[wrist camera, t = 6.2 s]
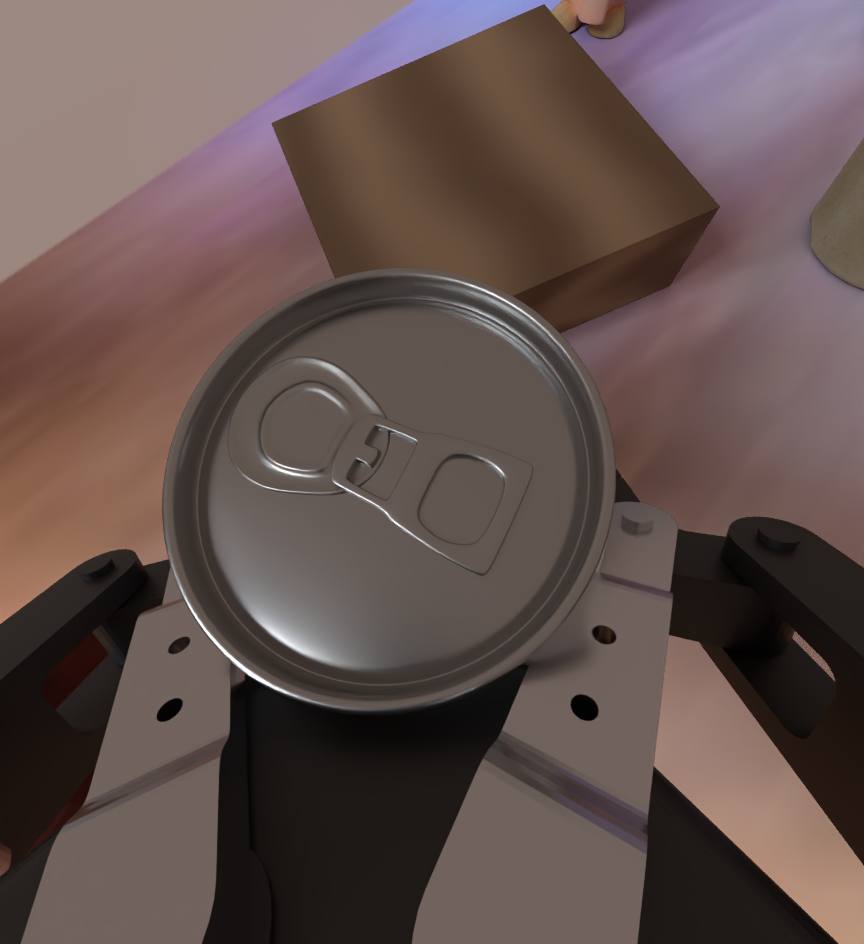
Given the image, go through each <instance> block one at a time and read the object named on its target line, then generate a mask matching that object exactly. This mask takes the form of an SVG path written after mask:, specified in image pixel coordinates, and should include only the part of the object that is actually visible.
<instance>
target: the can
mask: <svg viewBox="0 0 864 944" xmlns="http://www.w3.org/2000/svg"><path fill="white" fill-rule="evenodd" d="M615 491H616V462H615V451H614V444H613V438H612V433H611V428H610V424H609V420H608V417H607V413H606V410H605V407H604V404H603V402H602V399H601V397H600V394H599V392H598V389H597V387H596V385H595V383H594V381H593V379H592V377H591V376H590V374H589V372H588V370H587V369H586V367H585V365H584V364H583V362H582V361H581V359H580V358H579V356H578V355H577V353H576V352H575V351H574V349H573V348H572V347H571V346H570V344H569V343H568V342H567V341H566V340H565V338H564V337H563V336H562V335H561V334H560V333H559V332H558V331H557V330H556V329H555V328H554V327H553V326H552V325H551V324H550V323H549V322H548V321H547V320H545V319H544V318H543V317H542V316H541V315H539V314H538V313H537V312H536V311H534V310H533V309H532V308H530V307H529V306H527V305H526V304H524V303H523V302H521V301H520V300H518V299H517V298H515V297H513V296H511V295H510V294H508V293H506V292H504V291H502V290H500V289H498V288H496V287H493V286H491V285H489V284H486V283H484V282H481V281H478V280H475V279H472V278H469V277H466V276H462V275H458V274H454V273H449V272H444V271H438V270H430V269H419V268H390V269H378V270H371V271H365V272H359V273H354V274H350V275H346V276H342V277H339V278H335V279H332V280H329V281H326V282H323V283H321V284H318V285H316V286H313V287H311V288H309V289H306V290H304V291H302V292H300V293H298V294H296V295H294V296H292V297H290V298H288V299H287V300H285V301H283V302H281V303H280V304H278V305H277V306H275V307H273V308H272V309H270V310H269V311H267V312H266V313H265V314H263V315H262V316H261V317H259V318H258V319H257V320H255V321H254V322H253V323H252V324H250V325H249V326H248V327H247V328H246V329H244V330H243V331H242V332H241V333H240V334H239V335H238V336H237V337H236V338H235V339H234V340H233V341H232V342H231V343H230V344H229V345H228V346H227V347H226V348H225V349H224V350H223V351H222V353H221V354H220V355H219V356H218V357H217V358H216V360H215V361H214V362H213V363H212V365H211V366H210V367H209V369H208V370H207V372H206V373H205V374H204V376H203V377H202V379H201V380H200V382H199V384H198V385H197V387H196V388H195V390H194V392H193V394H192V395H191V397H190V399H189V401H188V403H187V405H186V407H185V409H184V411H183V413H182V416H181V418H180V420H179V423H178V426H177V428H176V431H175V434H174V437H173V440H172V443H171V447H170V450H169V455H168V459H167V464H166V469H165V476H164V484H163V498H162V516H163V530H164V538H165V544H166V549H167V554H168V558H169V562H170V566H171V569H172V572H173V575H174V578H175V581H176V584H177V586H178V589H179V591H180V593H181V596H182V598H183V600H184V602H185V604H186V606H187V607H188V609H189V611H190V613H191V615H192V616H193V618H194V619H195V621H196V622H197V624H198V625H199V627H200V628H201V630H202V631H203V632H204V634H205V635H206V636H207V637H208V639H209V640H210V641H211V642H212V643H213V645H214V646H215V647H216V648H217V649H218V650H219V651H220V652H221V653H222V654H223V655H224V656H225V657H226V658H227V659H228V660H229V661H230V662H231V663H233V664H234V665H235V666H236V667H237V668H238V669H240V670H241V671H242V672H243V673H245V674H246V675H248V676H249V677H250V678H252V679H253V680H255V681H256V682H258V683H260V684H261V685H263V686H265V687H266V688H268V689H270V690H272V691H274V692H276V693H278V694H280V695H282V696H284V697H286V698H289V699H291V700H294V701H296V702H299V703H302V704H305V705H308V706H311V707H315V708H319V709H323V710H327V711H332V712H338V713H345V714H354V715H393V714H403V713H410V712H416V711H421V710H426V709H430V708H434V707H438V706H441V705H444V704H447V703H451V702H453V701H456V700H459V699H461V698H464V697H466V696H468V695H471V694H473V693H475V692H477V691H479V690H481V689H483V688H485V687H487V686H489V685H491V684H492V683H494V682H496V681H498V680H499V679H501V678H502V677H504V676H506V675H507V674H509V673H510V672H512V671H513V670H514V669H516V668H517V667H518V666H520V665H527V666H529V664H530V662H531V660H532V657H533V655H534V653H535V652H537V651H538V650H539V649H540V648H541V647H542V646H543V645H544V644H545V643H546V642H547V641H548V640H549V639H550V638H551V637H552V636H553V635H554V633H555V632H556V631H557V630H558V629H559V628H560V627H561V625H562V624H563V623H564V622H565V620H566V619H567V618H568V617H569V615H570V614H571V612H572V611H573V609H574V608H575V607H576V605H577V604H578V602H579V600H580V599H581V597H582V596H583V594H584V592H585V590H586V589H587V587H588V585H589V583H590V581H591V579H592V577H593V575H594V573H595V572H596V571H597V572H599V569H600V566H601V563H602V560H603V556H604V552H605V548H606V543H607V538H608V534H609V530H610V526H611V521H612V516H613V510H614V502H615Z"/></svg>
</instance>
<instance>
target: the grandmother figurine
mask: <svg viewBox="0 0 864 944" xmlns="http://www.w3.org/2000/svg"><path fill="white" fill-rule="evenodd" d="M627 2H628V0H563V1H562V2H560V3H559V4H558V5H557V6H556V7H555V8H554V9H553V10H552V12H551V13H552V14H553V15H554V16H555V17H556V18H557V20H558V21H559V22H560V23H561V24H562V25H563V27H564V28H565V29H566V30H567V31H568V32H572V31H574V30H575V29H577V28H578V27H579V25H580V24H581V22H583V23H587V24H589V28H588V29H589V33H590V34H591V35H592V36H594V37H598V38H613V37H615V36H617V35H619V34H620V33H621V32H622V30H623V28H624V18H625V7H624V4H626V3H627Z"/></svg>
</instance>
